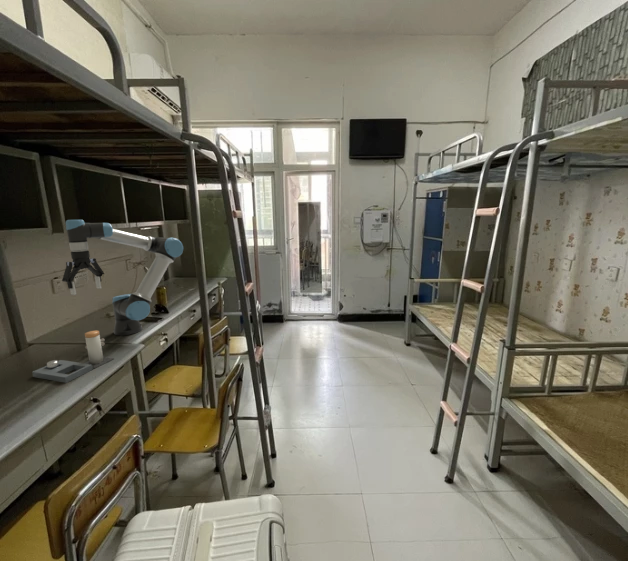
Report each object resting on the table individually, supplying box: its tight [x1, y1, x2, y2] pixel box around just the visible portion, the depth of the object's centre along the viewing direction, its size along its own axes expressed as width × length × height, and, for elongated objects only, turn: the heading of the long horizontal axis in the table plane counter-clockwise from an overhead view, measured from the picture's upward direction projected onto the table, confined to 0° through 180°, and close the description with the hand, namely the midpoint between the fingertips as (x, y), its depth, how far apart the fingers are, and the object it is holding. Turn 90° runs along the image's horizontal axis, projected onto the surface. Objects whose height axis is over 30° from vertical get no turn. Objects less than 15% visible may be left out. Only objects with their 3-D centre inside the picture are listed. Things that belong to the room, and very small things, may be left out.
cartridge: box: [84, 330, 104, 364], centre depth 150 cm, size 6×6×15 cm
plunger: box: [46, 359, 59, 370], centre depth 143 cm, size 4×4×4 cm
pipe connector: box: [85, 337, 106, 350], centre depth 162 cm, size 10×10×10 cm
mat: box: [83, 356, 115, 370], centre depth 152 cm, size 10×10×1 cm
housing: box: [32, 359, 94, 384], centre depth 142 cm, size 12×20×2 cm, turn 73°
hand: (86, 291), depth 162 cm, fingers open, 13 cm apart
